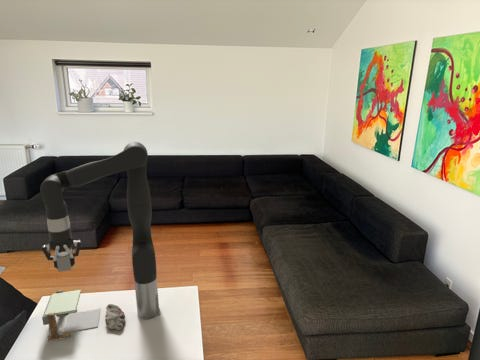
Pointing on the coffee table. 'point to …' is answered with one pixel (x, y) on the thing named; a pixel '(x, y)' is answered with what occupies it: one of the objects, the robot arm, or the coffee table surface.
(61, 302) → the trapdoor
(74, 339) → the coffee table surface
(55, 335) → the frame
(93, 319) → the mat
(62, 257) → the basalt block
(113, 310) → the mineral rock
